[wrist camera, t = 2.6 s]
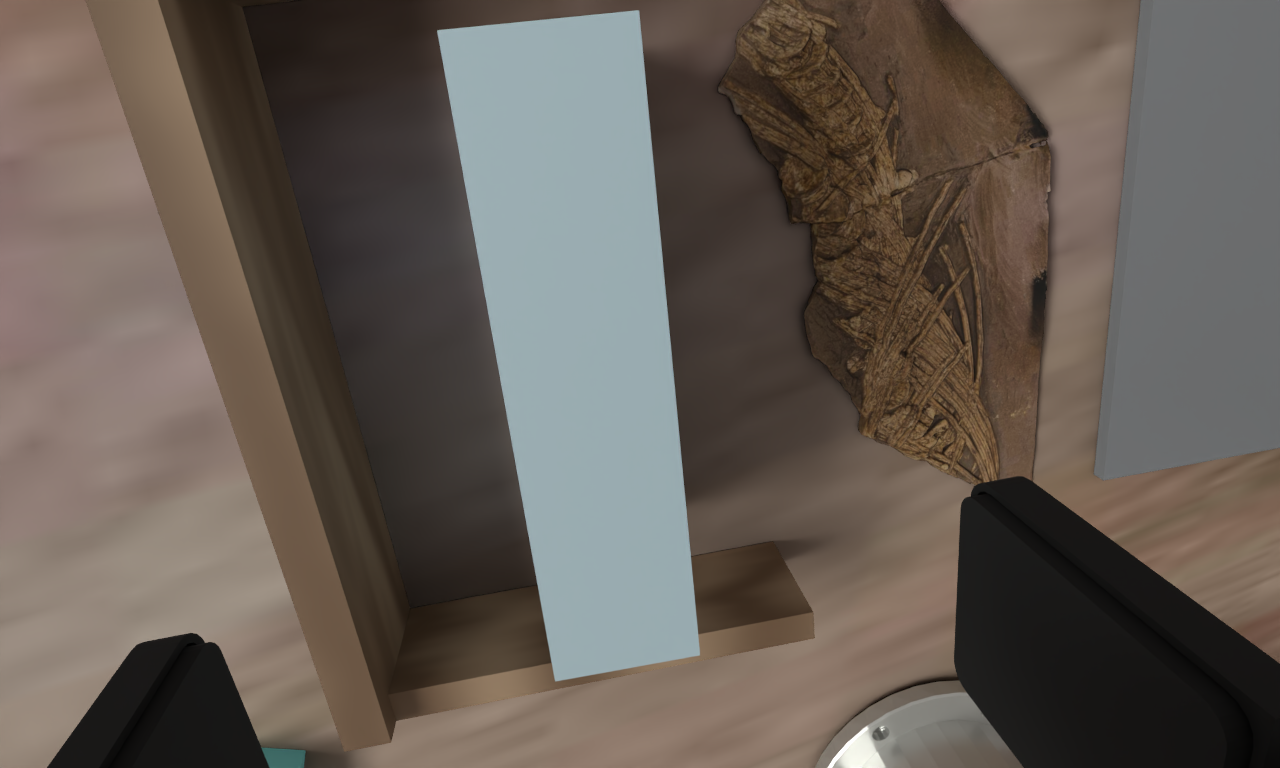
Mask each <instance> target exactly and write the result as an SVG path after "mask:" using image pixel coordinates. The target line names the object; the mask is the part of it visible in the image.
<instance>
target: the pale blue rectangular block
mask: <svg viewBox="0 0 1280 768" xmlns="http://www.w3.org/2000/svg"><path fill="white" fill-rule="evenodd" d="M437 33H438V38H439V44H440V49H441V55H442V60H443V66H444V71H445V77H446V82H447V88H448V93H449V99H450V104H451V110H452V115H453V121H454V126H455V132H456V138H457V143H458V149H459V154H460V160H461V165H462V171H463V176H464V182H465V187H466V193H467V198H468V204H469V209H470V215H471V220H472V226H473V231H474V237H475V242H476V248H477V253H478V259H479V264H480V270H481V275H482V281H483V287H484V292H485V298H486V303H487V309H488V314H489V320H490V325H491V331H492V336H493V342H494V347H495V353H496V358H497V364H498V369H499V375H500V380H501V386H502V391H503V397H504V402H505V408H506V413H507V419H508V424H509V430H510V435H511V441H512V447H513V452H514V458H515V463H516V469H517V474H518V480H519V485H520V491H521V496H522V502H523V507H524V513H525V518H526V524H527V529H528V535H529V540H530V546H531V551H532V557H533V562H534V568H535V573H536V579H537V584H538V590H539V595H540V601H541V607H542V612H543V618H544V623H545V629H546V634H547V640H548V645H549V651H550V656H551V662H552V667H553V673H554V678H555V681H561V680H566V679H572V678H578V677H583V676H589V675H594V674H600V673H605V672H611V671H616V670H622V669H627V668H633V667H638V666H644V665H649V664H655V663H660V662H666V661H671V660H677V659H682V658H688V657H694V656H699V655H700V648H699V638H698V627H697V617H696V606H695V596H694V585H693V575H692V564H691V553H690V543H689V532H688V522H687V511H686V501H685V490H684V480H683V469H682V459H681V448H680V437H679V427H678V416H677V406H676V395H675V385H674V374H673V364H672V353H671V343H670V332H669V321H668V311H667V300H666V290H665V279H664V269H663V258H662V248H661V237H660V226H659V216H658V205H657V195H656V184H655V174H654V163H653V153H652V142H651V132H650V121H649V110H648V100H647V89H646V79H645V68H644V58H643V47H642V37H641V26H640V16H639V10H636V11H626V12H616V13H606V14H596V15H586V16H576V17H566V18H556V19H546V20H536V21H526V22H516V23H506V24H495V25H485V26H475V27H465V28H455V29H445V30H437Z"/></svg>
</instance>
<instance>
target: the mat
mask: <svg viewBox="0 0 1280 768" xmlns="http://www.w3.org/2000/svg"><path fill="white" fill-rule="evenodd" d="M1276 448H1280V0H1141V3H1140V14H1139V24H1138V34H1137V44H1136V54H1135V64H1134V74H1133V84H1132V95H1131V105H1130V115H1129V125H1128V135H1127V145H1126V155H1125V165H1124V175H1123V186H1122V196H1121V206H1120V216H1119V226H1118V236H1117V246H1116V256H1115V266H1114V277H1113V287H1112V297H1111V307H1110V317H1109V327H1108V337H1107V347H1106V358H1105V368H1104V378H1103V388H1102V398H1101V408H1100V418H1099V428H1098V438H1097V449H1096V459H1095V469H1094V475H1096V476H1097V477H1099V478H1100V479H1102V480H1108V479H1114V478H1119V477H1124V476H1130V475H1135V474H1141V473H1146V472H1151V471H1157V470H1162V469H1168V468H1173V467H1178V466H1184V465H1189V464H1195V463H1200V462H1205V461H1211V460H1216V459H1222V458H1227V457H1232V456H1238V455H1243V454H1249V453H1254V452H1260V451H1265V450H1270V449H1276Z"/></svg>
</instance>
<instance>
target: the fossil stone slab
mask: <svg viewBox="0 0 1280 768" xmlns="http://www.w3.org/2000/svg"><path fill="white" fill-rule="evenodd" d="M735 43H736V53H735V59H734V61H733V62H732V63H731V65H730V67H729V69H728V72H727V73H726V74H725V76H724V77H723V79H722V81H721V82H720V85H719V88H718V92H720V93H721V94H724V95H727V96H728V97H729V99H730V101H731V103H732V105H733V108H734V112H735V114H737V115H739V116H741V118H742V121H743V122H745V123H746V124H747V125H748V126H749V128H750V130H751V135H752V138H753V141H754V143H755V145H756V146H757V148H758V150H759V152H760V154H761V153H762V154H763V155H764V157H765V158H766V159H767V160H768V161H769V162H770V163H771V164H774V165H775V167H776V168H777V170H778V177H779V178H780V179H781V180H782V188H781V191H782V193H783V194H784V196H785V198H786V201H787V204H788V214H789V220H790V223H791V224H796V223H810V226H811V240H812V244H813V246H812V257H813V264H814V268H815V276H816V277H817V278H818V282H817V284H816V285H815V286H814V288H813V291H812V294H811V296H810V298H809V300H808V305H807V307H806V309H805V312H804V317H805V327H806V333H807V337H808V340H809V343H810V346H811V350H812V354H813V356H814V358H816V359H819V360H820V361H821V362H823V363H824V364H825V365H827V367H828V368H829V370H830V372H831V374H832V376H833V377H835V378H836V379H837V380H838V381H840V383H841V385H842V386H843V388H844V389H845V390H846V391H848V392H849V394H850V395H851V399H852V401H853V403H854V405H855V406H856V407H857V409H858V411H859V414H860V415H861V417H860V420H859V425H858V430H859V432H860V433H861V434H862V435H864V436H866V437H869V438H872V439H874V440H875V441H876V442H878V443H881V444H886V445H889V446H891V447H893V448H895V449H896V450H898V451H899V452H901V453H902V454H903V455H905V456H907V457H910V458H913V459H915V460H918V461H927V462H928V463H929V464H930V465H932V466H934V467H936V468H937V469H939V470H940V471H941V472H945V473H947V474H948V475H952V476H954V477H956V478H960V479H962V480H964V481H966V482H968V483H970V484H971V483H972V484H974V485H977V484H979V483H984V482H989V481H994V480H1000V479H1005V478H1010V477H1016V476H1023V477H1025V478H1027V479H1029V480H1031V481H1032V470H1033V460H1034V451H1035V433H1036V418H1037V396H1038V379H1039V368H1040V354H1041V349H1042V340H1043V334H1044V308H1045V299H1046V294H1045V293H1046V290H1047V257H1048V249H1047V246H1048V225H1049V214H1048V211H1047V205H1048V204H1047V203H1046V200H1047V199H1048V195H1047V192H1049V191H1051V190H1050V163H1051V155H1050V151H1049V147H1048V143H1047V141H1046V140H1047V138H1048V133H1047V130H1046V129H1045V128H1044V125H1043V124H1042V123H1041V122H1040V120H1039V119H1038V118H1037V117H1036V114H1035V113H1034V114H1033V113H1032V111H1031V110H1030V108H1029V106H1028V105H1027V104H1026V103H1025V101H1024V100H1023V99H1022V98H1021V97H1020V96H1019V95H1018V94H1017V93H1016V91H1015V90H1014V89H1013V88H1012V87H1011V85H1010V84H1009V83H1008V82H1007V81H1006V80H1005V78H1004V77H1003V76H1002V75H1001V73H1000V72H999V71H998V70H997V69H996V67H995V66H994V65H993V64H992V63H991V62H990V61H989V59H988V58H986V57H985V56H984V55H983V53H982V51H981V50H980V49H979V48H978V47H977V46H976V45H975V44H974V43H973V41H972V40H971V38H970V37H969V36H968V35H967V34H966V33H965V32H964V30H963V29H962V28H961V27H960V25H959V24H958V23H957V22H956V21H955V20H954V19H953V18H952V16H951V15H950V14H949V13H948V12H947V10H946V9H945V8H944V7H943V5H942V4H941V2H940V1H939V0H764V2H763V3H762V5H761V6H760V8H759V9H758V10H757V12H756V13H755V14H754V16H753V17H752V18H751V19H750V21H748V22H747V23H746V24H745V25H744V26H743V27H742V28H741V29H739V30H738V34H737V38H736V41H735ZM1041 140H1042V141H1046V145H1045V146H1040V147H1035V148H1033V149H1032V148H1031V147H1029V146H1030V145H1031V144H1032V143H1037V142H1039V143H1040V145H1041Z"/></svg>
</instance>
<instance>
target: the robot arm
mask: <svg viewBox="0 0 1280 768" xmlns="http://www.w3.org/2000/svg"><path fill="white" fill-rule="evenodd" d="M954 664H955V669H956V672H957V675H958V678H959V680H960V681H939V682H933V683H929V684H924V685H919V686H914V687H911V688H909V689H906V690H903V691H900V692H898V693H895V694H892V695H890V696H888V697H886V698H884V699H883V700H881V701H879V702H877V703H875V704H873V705H871V706H870V707H868V708H867V709H866V710H864V711H863V712H861V713H860V714H859V715H857V716H856V717H855V718H853V719H852V720H851V721H850V722H849V723H848V724H847V725H846V726H845V727H844V728H843V729H842V730H841V731H840V732H839V733H838V734H837V735H836V736H835V737H834V738H833V739H832V741H831V742H830V743H829V745H828V746H827V748H826V749H825V750H824V752H823V753H822V755H821V756H820V758H819V760H818V763H817V765H816V767H815V768H1280V664H1279V663H1278V662H1277V661H1275V660H1274V659H1273V658H1271V657H1270V656H1269V655H1267V654H1266V653H1265V652H1263V651H1262V650H1260V649H1259V648H1258V647H1256V646H1255V645H1254V644H1252V643H1251V642H1250V641H1248V640H1247V639H1245V638H1244V637H1243V636H1241V635H1240V634H1239V633H1237V632H1236V631H1235V630H1233V629H1232V628H1231V627H1229V626H1228V625H1226V624H1225V623H1224V622H1222V621H1221V620H1220V619H1218V618H1217V617H1216V616H1214V615H1213V614H1212V613H1210V612H1209V611H1207V610H1206V609H1205V608H1203V607H1202V606H1201V605H1199V604H1198V603H1197V602H1195V601H1194V600H1192V599H1191V598H1190V597H1188V596H1187V595H1186V594H1184V593H1183V592H1182V591H1180V590H1179V589H1178V588H1176V587H1175V586H1173V585H1172V584H1171V583H1169V582H1168V581H1167V580H1165V579H1164V578H1163V577H1161V576H1160V575H1159V574H1157V573H1156V572H1154V571H1153V570H1152V569H1150V568H1149V567H1148V566H1146V565H1145V564H1144V563H1142V562H1141V561H1139V560H1138V559H1137V558H1135V557H1134V556H1133V555H1131V554H1130V553H1129V552H1127V551H1126V550H1125V549H1123V548H1122V547H1120V546H1119V545H1118V544H1116V543H1115V542H1114V541H1112V540H1111V539H1110V538H1108V537H1107V536H1105V535H1104V534H1103V533H1101V532H1100V531H1099V530H1097V529H1096V528H1095V527H1093V526H1092V525H1091V524H1089V523H1088V522H1086V521H1085V520H1084V519H1082V518H1081V517H1080V516H1078V515H1077V514H1076V513H1074V512H1073V511H1072V510H1070V509H1069V508H1067V507H1066V506H1065V505H1063V504H1062V503H1061V502H1059V501H1058V500H1057V499H1055V498H1054V497H1052V496H1051V495H1050V494H1048V493H1047V492H1046V491H1044V490H1043V489H1042V488H1040V487H1039V486H1038V485H1036V484H1035V483H1033V482H1032V481H1031V480H1029V479H1027V478H1025V477H1023V476H1016V477H1010V478H1005V479H1000V480H994V481H989V482H984V483H979V484H977V485H976V486H974V488H973V490H972V492H971V497H967V498H965V499H964V500H963V502H962V504H961V514H960V537H959V560H958V582H957V605H956V628H955V650H954ZM47 768H269V765H268V763H267V760H266V758H265V755H264V753H263V751H262V748H261V746H260V743H259V741H258V739H257V736H256V734H255V731H254V729H253V727H252V724H251V722H250V719H249V717H248V714H247V712H246V710H245V707H244V705H243V702H242V700H241V698H240V695H239V693H238V690H237V688H236V686H235V683H234V681H233V678H232V676H231V673H230V671H229V669H228V666H227V664H226V661H225V659H224V657H223V654H222V652H221V650H220V648H219V647H218V646H217V645H216V644H215V643H212V642H208V643H205V642H204V640H203V639H202V638H201V637H200V636H199V635H198V634H194V633H189V634H184V635H178V636H173V637H168V638H162V639H157V640H152V641H147V642H143V643H140V644H138V645H136V646H135V647H134V648H133V649H132V650H131V652H130V653H129V654H128V656H127V657H126V659H125V660H124V661H123V663H122V664H121V666H120V667H119V668H118V670H117V671H116V673H115V674H114V675H113V677H112V678H111V679H110V681H109V682H108V684H107V685H106V686H105V688H104V689H103V691H102V692H101V693H100V695H99V696H98V698H97V699H96V700H95V702H94V703H93V705H92V706H91V707H90V709H89V710H88V711H87V713H86V714H85V716H84V717H83V718H82V720H81V721H80V723H79V724H78V725H77V727H76V728H75V730H74V731H73V732H72V734H71V735H70V736H69V738H68V739H67V741H66V742H65V743H64V745H63V746H62V748H61V749H60V750H59V752H58V753H57V755H56V756H55V757H54V759H53V760H52V762H51V763H50V764H49V766H48V767H47Z"/></svg>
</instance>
